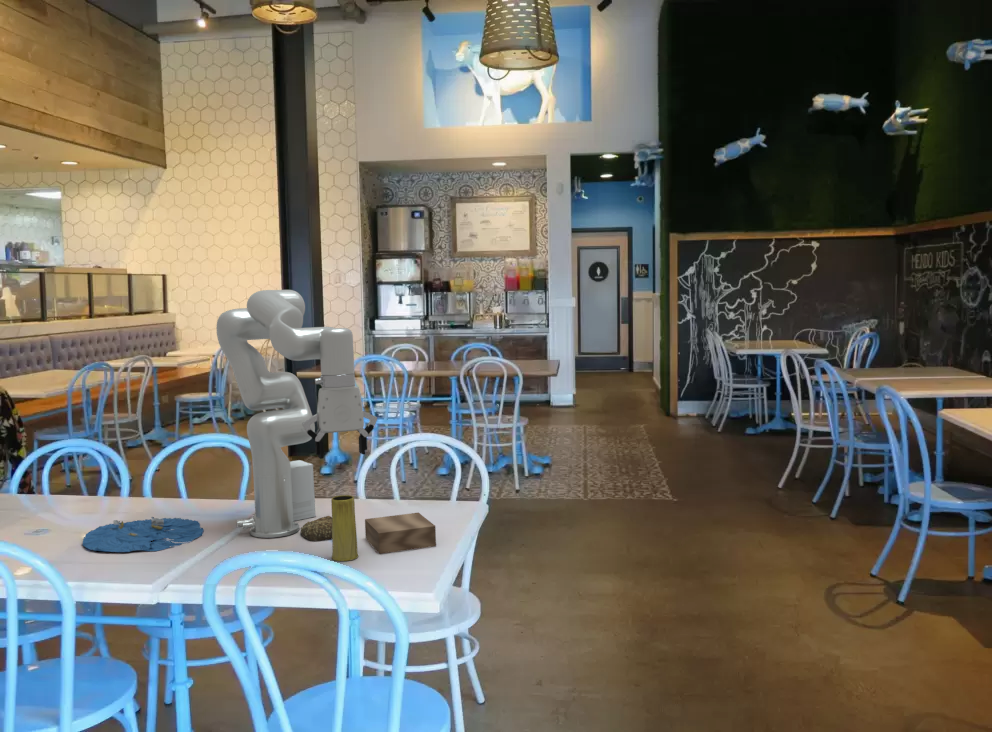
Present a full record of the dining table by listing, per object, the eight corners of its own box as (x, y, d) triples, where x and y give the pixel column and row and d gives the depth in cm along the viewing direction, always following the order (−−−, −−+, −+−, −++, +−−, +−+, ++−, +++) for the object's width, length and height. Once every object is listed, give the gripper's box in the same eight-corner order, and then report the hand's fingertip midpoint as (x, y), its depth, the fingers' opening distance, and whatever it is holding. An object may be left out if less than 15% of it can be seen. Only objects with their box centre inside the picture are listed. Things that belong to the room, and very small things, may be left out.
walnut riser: (379, 553, 203) (378, 533, 202) (365, 538, 215) (364, 519, 215) (436, 546, 208) (435, 525, 207) (419, 531, 221) (418, 512, 220)
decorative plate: (229, 529, 233) (229, 511, 232) (158, 562, 204) (158, 541, 204) (137, 519, 241) (136, 501, 240) (55, 550, 212) (55, 529, 211)
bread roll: (305, 544, 213) (305, 524, 212) (297, 531, 224) (297, 513, 224) (356, 537, 218) (356, 518, 217) (346, 525, 229) (345, 507, 229)
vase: (333, 562, 197) (330, 501, 195) (330, 555, 203) (328, 495, 201) (359, 560, 198) (357, 499, 197) (356, 552, 204) (354, 493, 203)
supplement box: (302, 510, 245) (300, 459, 243) (316, 517, 238) (314, 463, 236) (272, 516, 239) (269, 463, 238) (285, 523, 232) (283, 468, 231)
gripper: (303, 385, 190) (306, 462, 191) (379, 380, 197) (382, 454, 198) (297, 383, 197) (301, 456, 198) (371, 378, 203) (374, 449, 205)
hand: (341, 455), depth 198 cm, fingers open, 9 cm apart
